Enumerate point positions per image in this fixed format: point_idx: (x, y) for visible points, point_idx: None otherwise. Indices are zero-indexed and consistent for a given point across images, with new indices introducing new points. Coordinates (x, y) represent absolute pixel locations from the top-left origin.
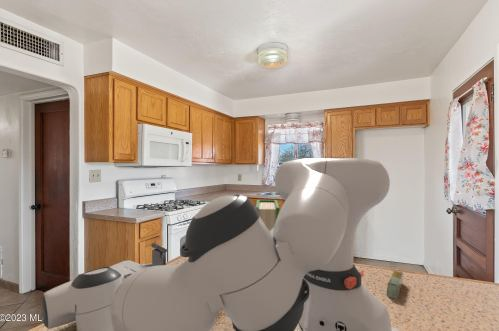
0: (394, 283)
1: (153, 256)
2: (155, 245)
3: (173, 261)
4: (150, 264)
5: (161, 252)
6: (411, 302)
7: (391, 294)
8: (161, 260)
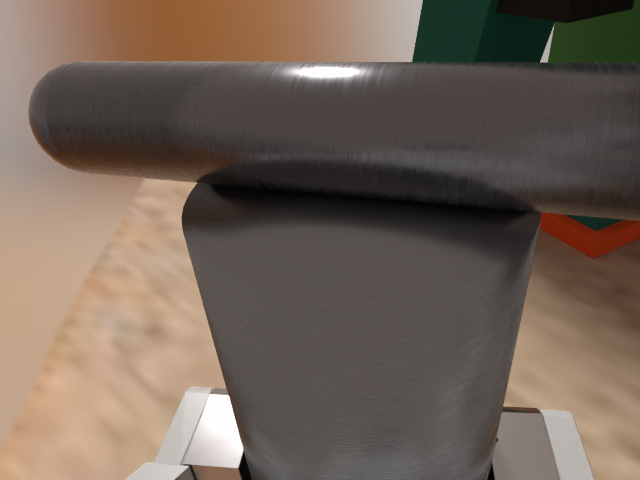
0: None
1: (354, 402)
2: (212, 94)
3: (125, 225)
4: (185, 471)
5: (538, 228)
6: None
7: None
8: (507, 381)
